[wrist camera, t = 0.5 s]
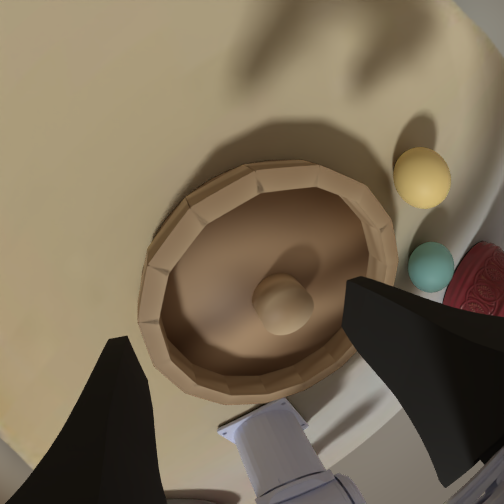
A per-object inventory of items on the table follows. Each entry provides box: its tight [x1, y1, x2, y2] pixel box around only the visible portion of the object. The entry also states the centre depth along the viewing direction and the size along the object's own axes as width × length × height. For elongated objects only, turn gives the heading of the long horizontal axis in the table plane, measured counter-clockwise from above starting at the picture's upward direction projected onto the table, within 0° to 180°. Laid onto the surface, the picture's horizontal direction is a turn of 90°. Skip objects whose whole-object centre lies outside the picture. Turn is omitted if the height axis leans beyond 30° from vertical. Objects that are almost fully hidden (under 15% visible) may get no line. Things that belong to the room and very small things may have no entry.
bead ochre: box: [393, 147, 451, 209], centre depth 19 cm, size 5×5×5 cm
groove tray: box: [138, 160, 399, 405], centre depth 20 cm, size 18×18×3 cm
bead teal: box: [408, 242, 454, 293], centre depth 23 cm, size 5×5×5 cm
